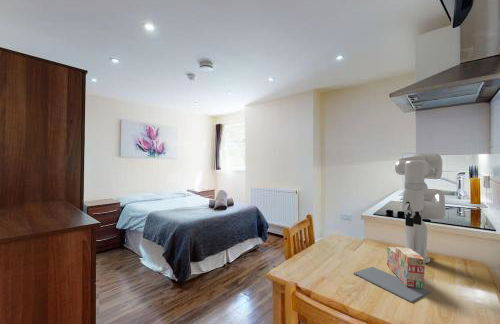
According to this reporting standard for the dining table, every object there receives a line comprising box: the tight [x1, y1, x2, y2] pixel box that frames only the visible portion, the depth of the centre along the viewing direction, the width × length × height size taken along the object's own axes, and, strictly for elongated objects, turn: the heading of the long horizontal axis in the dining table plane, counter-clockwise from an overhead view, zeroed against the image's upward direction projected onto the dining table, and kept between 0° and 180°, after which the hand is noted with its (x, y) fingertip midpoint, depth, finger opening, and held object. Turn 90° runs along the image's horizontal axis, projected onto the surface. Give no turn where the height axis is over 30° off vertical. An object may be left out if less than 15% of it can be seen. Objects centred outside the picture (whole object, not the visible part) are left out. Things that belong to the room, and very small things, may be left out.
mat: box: [353, 266, 431, 304], centre depth 98 cm, size 14×24×1 cm, turn 29°
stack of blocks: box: [386, 246, 426, 289], centre depth 103 cm, size 21×6×12 cm, turn 168°
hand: (413, 224), depth 107 cm, fingers open, 6 cm apart
